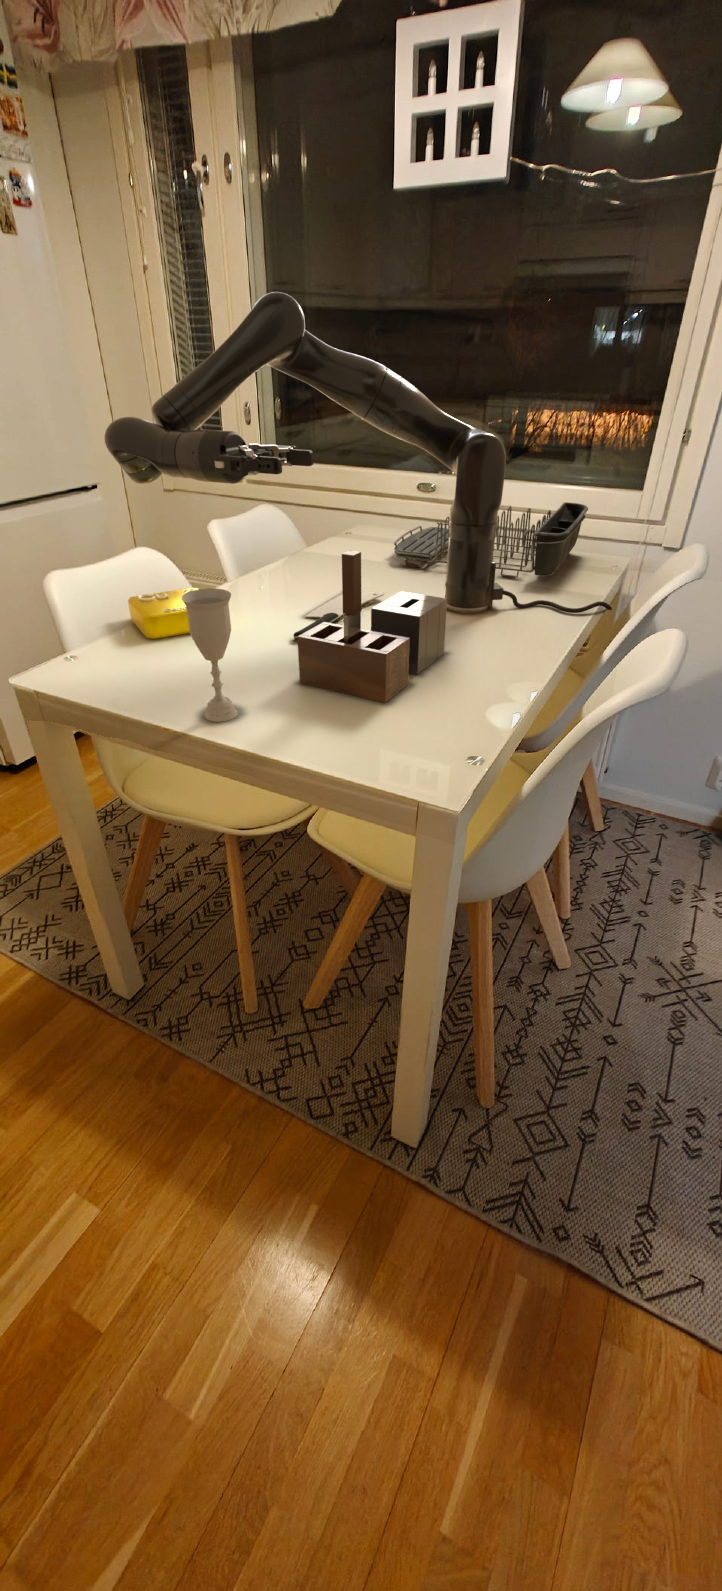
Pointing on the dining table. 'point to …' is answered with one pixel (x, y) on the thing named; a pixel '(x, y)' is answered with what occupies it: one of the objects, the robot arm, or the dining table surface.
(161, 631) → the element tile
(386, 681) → the knife rack
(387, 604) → the knife block
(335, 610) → the kitchen cleaver
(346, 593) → the chef knife
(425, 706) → the dining table surface
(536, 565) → the dish rack
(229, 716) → the chalice
